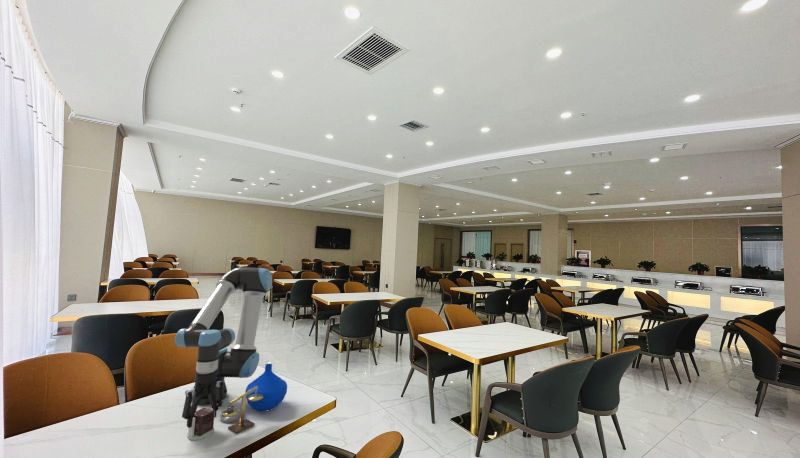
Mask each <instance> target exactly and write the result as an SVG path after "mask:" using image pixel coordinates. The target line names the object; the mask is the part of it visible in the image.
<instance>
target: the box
mask: <svg viewBox="0 0 800 458" xmlns="http://www.w3.org/2000/svg"><path fill="white" fill-rule="evenodd" d="M211 409H212V408H206V407H202V408H200V409H197V410H196V412H195V414H194V418H195V427H194V435H197V436H202V435H203V434H205V433H207V432H209V431H210V430H212V429H213V422H214V423H215V418H214V410H211Z"/></svg>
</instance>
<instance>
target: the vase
mask: <svg viewBox="0 0 800 458" xmlns="http://www.w3.org/2000/svg"><path fill="white" fill-rule="evenodd" d="M272 367H273V364H272V363H266V364H265V367H264V368H265V369H264V371H263V373H262V374H261V375H259V376H258V377H256V378H255V379H254V380H253V381H251V382H250V383H248V384H247V386H246V388H245V391H244V393H245V392H247V391H249V390H250V389H252V388H254V387H256V386H257V387H258V389H257V393H256V390H254V391H253V392H251V393H249V394H248V395H246V402H247V404H248V405H249V407H250V408H252V410H255V411H256V412H268V411H267V410H269V411H272V410H274V409H275V408H277V407H278V406H280V404H281V403H282V402H283V401H284V399H285V397H286V395H287V392H288V384H287V381H286V380H284V379H282V378H281V377H279V376H278V375H277V374H275V373H274V372H273V369H272ZM255 393H256V394H262V395H263V399H261V400H259V401H249V400H248V397H249V396H250V395H253V394H255ZM273 408H274V409H273ZM271 409H272V410H271Z"/></svg>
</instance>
